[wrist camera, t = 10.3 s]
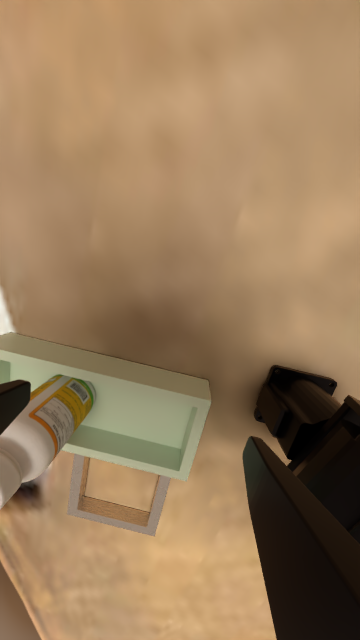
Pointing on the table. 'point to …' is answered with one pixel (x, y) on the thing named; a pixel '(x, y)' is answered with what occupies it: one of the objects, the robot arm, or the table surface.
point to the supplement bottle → (42, 430)
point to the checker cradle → (110, 511)
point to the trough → (119, 404)
